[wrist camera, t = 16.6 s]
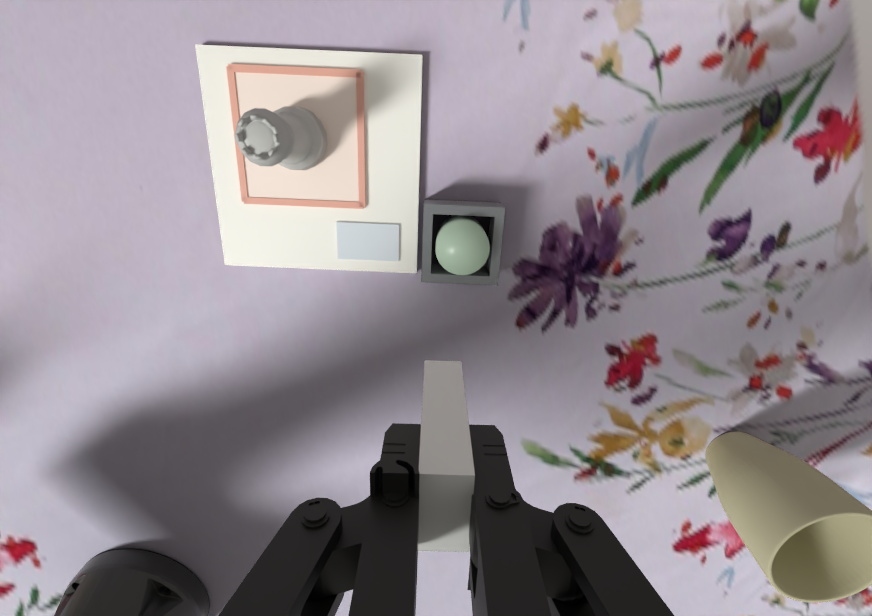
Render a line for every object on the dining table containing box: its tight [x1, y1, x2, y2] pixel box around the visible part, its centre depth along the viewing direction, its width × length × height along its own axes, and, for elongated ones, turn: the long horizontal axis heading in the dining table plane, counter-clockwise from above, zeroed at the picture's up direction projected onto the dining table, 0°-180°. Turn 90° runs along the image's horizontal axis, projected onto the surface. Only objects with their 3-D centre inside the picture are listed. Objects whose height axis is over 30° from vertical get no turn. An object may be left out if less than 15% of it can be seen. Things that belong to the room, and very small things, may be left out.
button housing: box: [421, 199, 505, 285], centre depth 34 cm, size 6×6×3 cm
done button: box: [435, 215, 490, 275], centre depth 34 cm, size 4×4×4 cm
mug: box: [706, 431, 872, 602], centre depth 38 cm, size 11×10×12 cm
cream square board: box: [195, 45, 423, 273], centre depth 34 cm, size 16×16×1 cm
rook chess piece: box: [235, 106, 327, 170], centre depth 29 cm, size 4×4×8 cm
